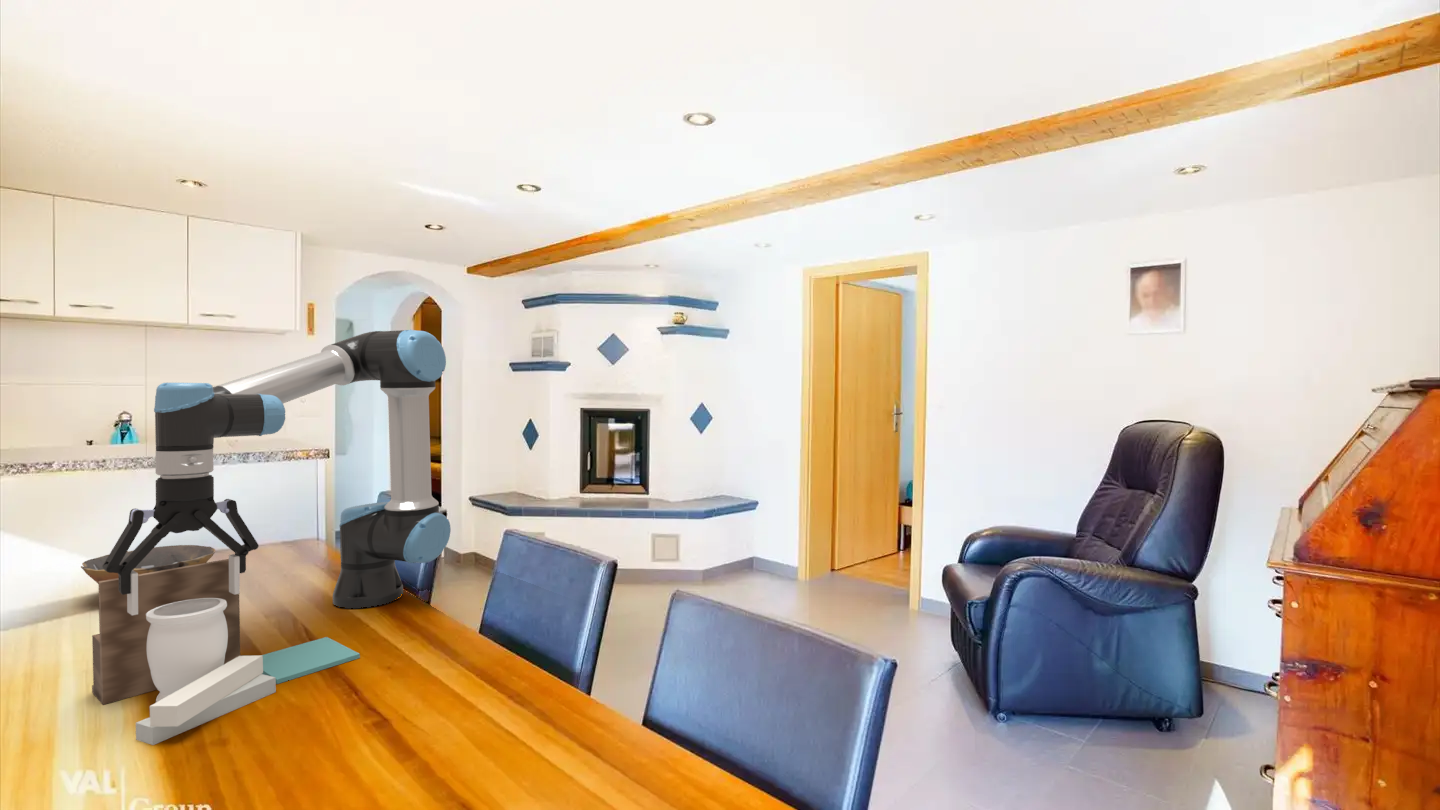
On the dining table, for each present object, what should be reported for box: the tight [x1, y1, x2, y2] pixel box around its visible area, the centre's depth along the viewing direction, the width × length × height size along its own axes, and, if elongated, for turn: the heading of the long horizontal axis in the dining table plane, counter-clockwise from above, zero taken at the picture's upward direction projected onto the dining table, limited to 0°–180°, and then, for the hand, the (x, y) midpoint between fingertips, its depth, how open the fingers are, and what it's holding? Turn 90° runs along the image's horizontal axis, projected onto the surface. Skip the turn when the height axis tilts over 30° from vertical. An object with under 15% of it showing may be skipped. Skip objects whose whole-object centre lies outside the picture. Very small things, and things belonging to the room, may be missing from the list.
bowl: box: [80, 544, 216, 584], centre depth 163 cm, size 25×25×10 cm
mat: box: [259, 636, 361, 685], centre depth 125 cm, size 14×14×1 cm
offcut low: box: [135, 674, 277, 746], centre depth 105 cm, size 18×4×3 cm, turn 159°
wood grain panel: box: [91, 558, 241, 706], centre depth 117 cm, size 19×7×20 cm, turn 144°
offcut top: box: [149, 655, 263, 727], centre depth 105 cm, size 18×4×3 cm, turn 0°
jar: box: [146, 598, 228, 703], centre depth 111 cm, size 11×10×15 cm
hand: (186, 602), depth 111 cm, fingers open, 13 cm apart
